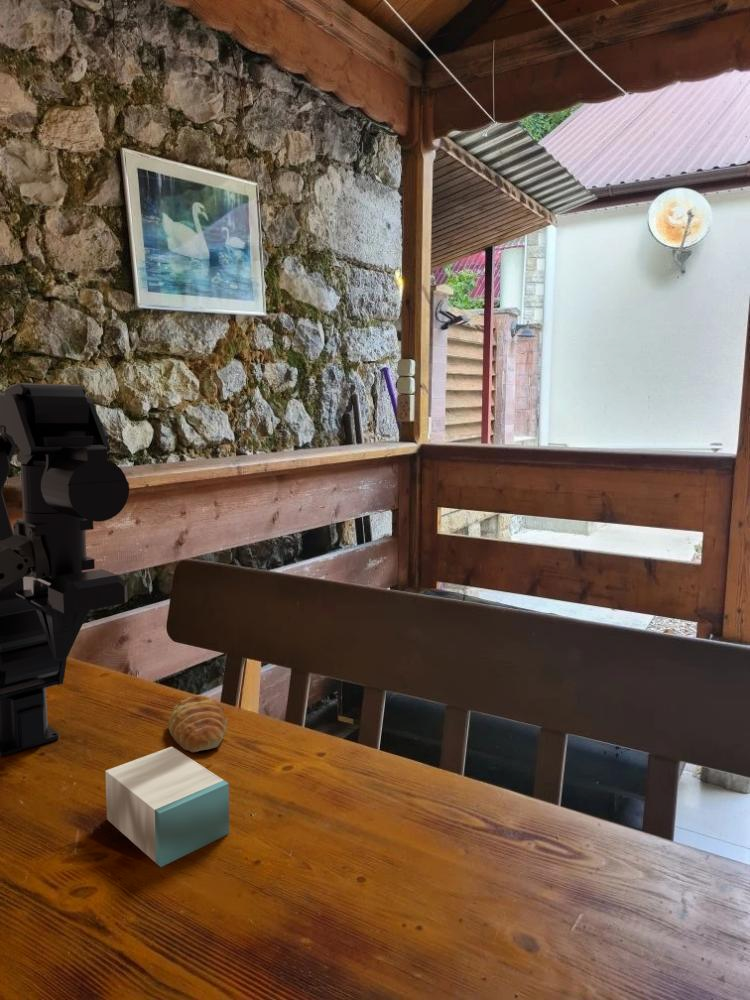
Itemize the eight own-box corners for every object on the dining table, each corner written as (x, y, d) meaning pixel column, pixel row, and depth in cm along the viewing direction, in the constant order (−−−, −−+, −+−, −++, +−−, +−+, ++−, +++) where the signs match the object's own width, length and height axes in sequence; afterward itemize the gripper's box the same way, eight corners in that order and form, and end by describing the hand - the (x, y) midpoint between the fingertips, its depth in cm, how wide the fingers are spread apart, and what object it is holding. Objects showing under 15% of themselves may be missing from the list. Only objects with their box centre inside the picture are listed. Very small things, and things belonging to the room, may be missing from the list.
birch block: (105, 770, 68) (159, 813, 61) (171, 746, 73) (228, 783, 66) (107, 820, 68) (160, 867, 61) (172, 792, 73) (229, 834, 66)
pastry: (236, 750, 83) (235, 719, 82) (176, 761, 80) (174, 729, 79) (220, 717, 91) (219, 689, 91) (165, 726, 88) (164, 697, 88)
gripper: (-65, 506, 73) (-55, 654, 75) (3, 530, 60) (12, 708, 62) (47, 498, 81) (53, 631, 83) (128, 517, 68) (132, 675, 70)
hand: (60, 658), depth 74 cm, fingers closed
